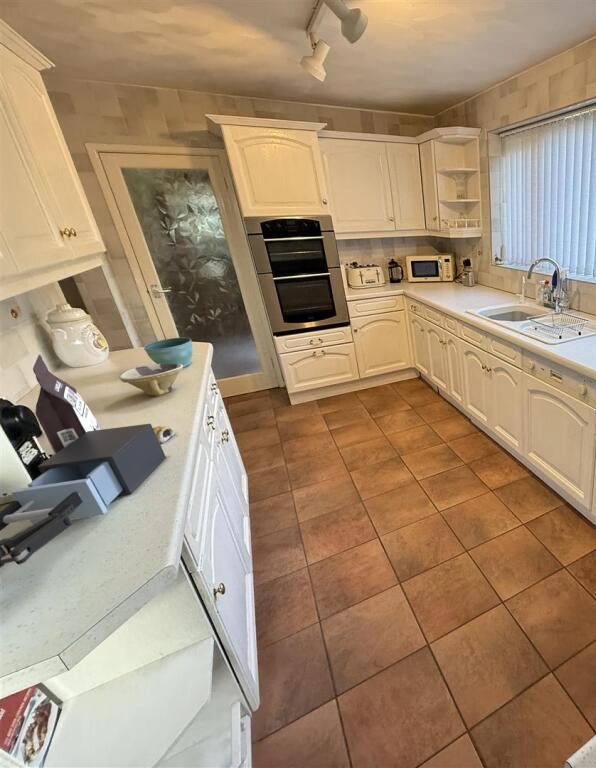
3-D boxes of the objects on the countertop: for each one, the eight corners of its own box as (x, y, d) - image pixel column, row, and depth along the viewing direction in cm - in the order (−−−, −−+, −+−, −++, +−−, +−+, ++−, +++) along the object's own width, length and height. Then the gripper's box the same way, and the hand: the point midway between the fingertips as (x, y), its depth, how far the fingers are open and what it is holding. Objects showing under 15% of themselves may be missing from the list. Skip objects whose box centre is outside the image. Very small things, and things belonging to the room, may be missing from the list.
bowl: (189, 394, 146) (180, 370, 143) (125, 407, 137) (113, 382, 133) (192, 379, 160) (183, 357, 156) (134, 390, 151) (123, 367, 147)
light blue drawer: (84, 534, 81) (63, 500, 77) (8, 547, 78) (-18, 512, 74) (142, 475, 99) (128, 445, 96) (82, 484, 96) (64, 453, 93)
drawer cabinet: (131, 494, 94) (111, 456, 89) (61, 505, 91) (36, 466, 86) (166, 457, 108) (150, 423, 103) (106, 466, 105) (87, 431, 100)
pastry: (129, 445, 114) (123, 434, 112) (148, 433, 120) (143, 423, 119) (162, 444, 114) (157, 433, 112) (179, 432, 120) (175, 421, 119)
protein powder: (108, 460, 107) (58, 364, 96) (62, 474, 102) (3, 374, 90) (107, 438, 118) (62, 349, 107) (65, 449, 113) (13, 358, 101)
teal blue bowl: (196, 368, 171) (188, 344, 167) (149, 376, 164) (138, 351, 160) (201, 357, 184) (193, 335, 180) (157, 364, 177) (148, 341, 173)
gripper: (9, 562, 62) (104, 477, 82) (-179, 596, 57) (-29, 497, 77) (33, 595, 65) (119, 505, 85) (-143, 630, 60) (-8, 526, 80)
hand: (48, 501), depth 81 cm, fingers closed on light blue drawer, 9 cm apart
